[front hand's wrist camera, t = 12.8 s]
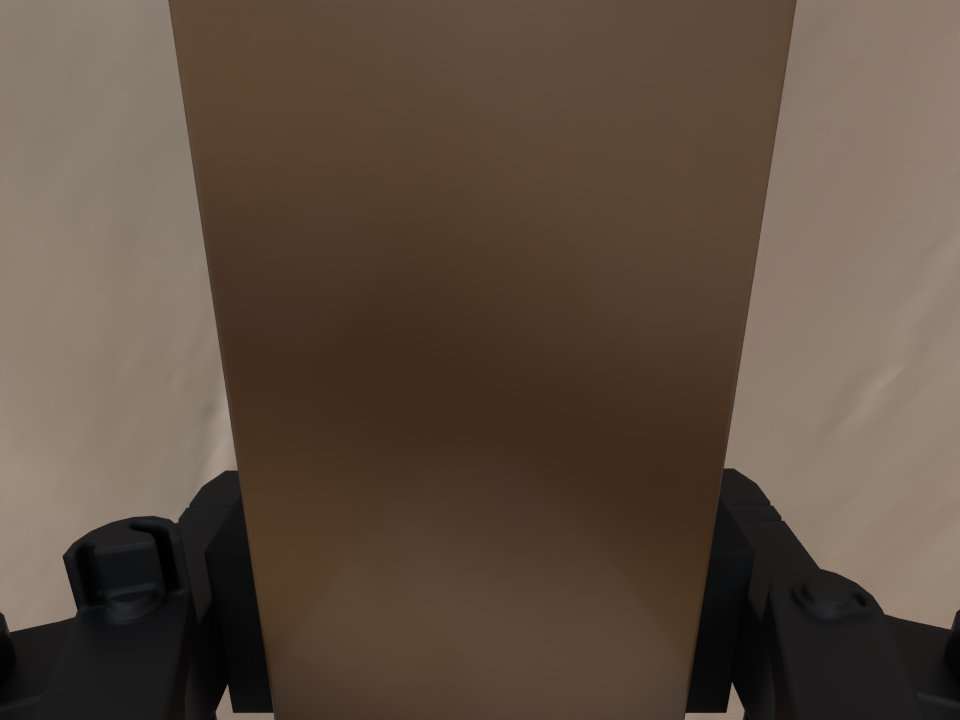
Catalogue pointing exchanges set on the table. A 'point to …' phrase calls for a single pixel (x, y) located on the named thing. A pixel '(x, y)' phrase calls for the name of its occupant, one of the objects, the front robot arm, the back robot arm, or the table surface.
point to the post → (481, 334)
